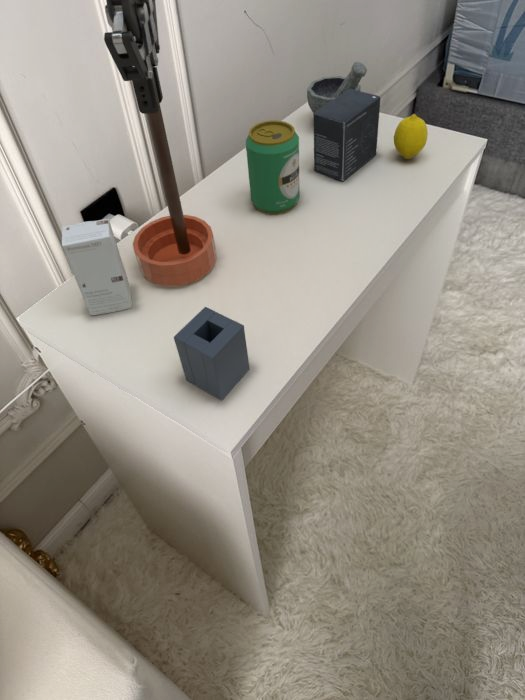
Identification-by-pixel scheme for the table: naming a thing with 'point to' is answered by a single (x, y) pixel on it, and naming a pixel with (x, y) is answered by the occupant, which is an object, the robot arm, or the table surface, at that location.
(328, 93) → the mortar and pestle
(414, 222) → the table surface
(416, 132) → the fruit
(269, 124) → the beverage can
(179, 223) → the stick
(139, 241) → the bowl
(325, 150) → the box
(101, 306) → the cosmetic box
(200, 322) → the holder
